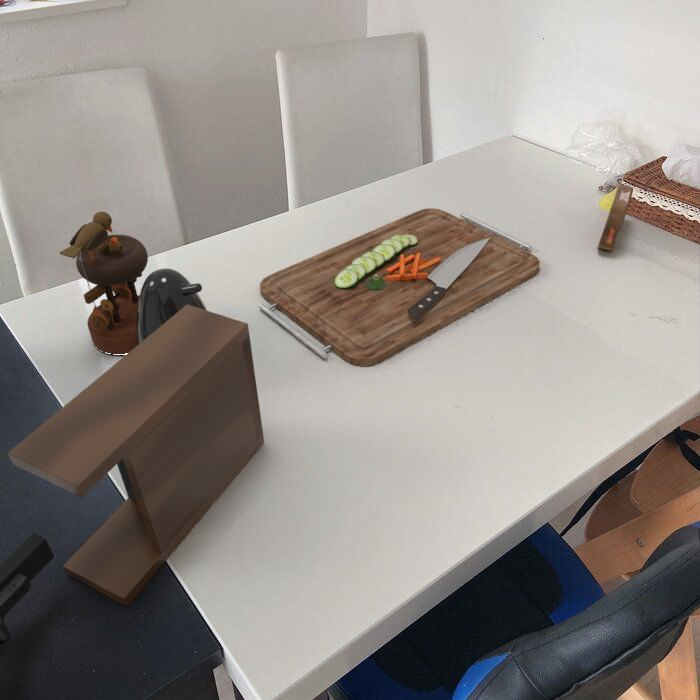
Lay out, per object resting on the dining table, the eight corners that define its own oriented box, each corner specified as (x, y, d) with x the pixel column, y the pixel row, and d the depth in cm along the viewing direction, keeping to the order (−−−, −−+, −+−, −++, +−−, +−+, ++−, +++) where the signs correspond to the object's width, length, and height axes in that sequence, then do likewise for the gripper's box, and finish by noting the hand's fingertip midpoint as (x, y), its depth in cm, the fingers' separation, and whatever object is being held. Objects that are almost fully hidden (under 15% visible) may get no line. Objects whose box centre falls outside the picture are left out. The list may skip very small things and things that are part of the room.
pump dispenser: (197, 397, 89) (177, 302, 79) (130, 380, 92) (102, 286, 82) (234, 351, 96) (219, 258, 87) (171, 336, 99) (149, 245, 90)
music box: (150, 366, 94) (103, 238, 81) (77, 365, 96) (20, 240, 83) (186, 303, 106) (150, 183, 93) (121, 303, 107) (76, 185, 95)
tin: (607, 217, 125) (618, 174, 120) (625, 221, 124) (637, 177, 118) (594, 257, 114) (605, 211, 109) (613, 261, 113) (625, 215, 108)
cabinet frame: (66, 574, 69) (7, 452, 57) (210, 421, 85) (187, 304, 74) (127, 607, 66) (77, 486, 54) (264, 442, 82) (248, 323, 71)
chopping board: (441, 206, 129) (442, 192, 127) (556, 263, 113) (560, 247, 111) (240, 294, 107) (237, 278, 105) (348, 380, 91) (347, 362, 89)
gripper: (-246, 781, 51) (7, 542, 67) (-136, 878, 46) (107, 596, 62) (-308, 739, 46) (-20, 493, 62) (-194, 843, 41) (86, 547, 58)
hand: (44, 544), depth 62 cm, fingers closed
